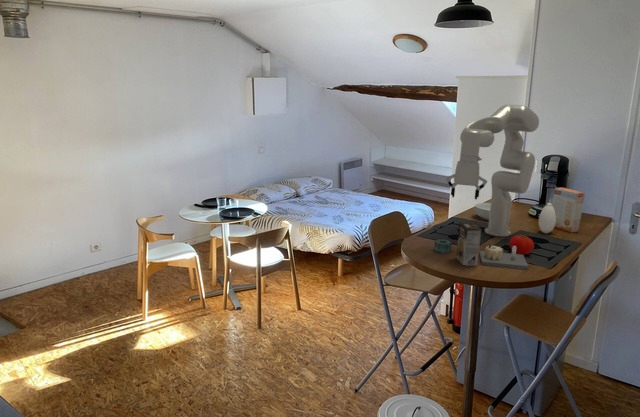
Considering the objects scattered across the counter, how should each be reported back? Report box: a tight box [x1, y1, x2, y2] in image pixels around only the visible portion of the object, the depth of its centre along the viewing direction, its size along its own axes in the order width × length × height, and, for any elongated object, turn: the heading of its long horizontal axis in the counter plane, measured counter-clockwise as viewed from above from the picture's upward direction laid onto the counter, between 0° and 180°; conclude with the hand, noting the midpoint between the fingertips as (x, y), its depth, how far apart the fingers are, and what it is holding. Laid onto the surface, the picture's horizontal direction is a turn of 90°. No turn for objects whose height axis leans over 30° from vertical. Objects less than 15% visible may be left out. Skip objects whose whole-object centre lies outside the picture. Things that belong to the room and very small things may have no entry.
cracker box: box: [552, 186, 585, 233], centre depth 259 cm, size 14×6×21 cm, turn 22°
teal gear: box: [434, 239, 452, 254], centre depth 224 cm, size 7×7×4 cm
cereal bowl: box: [474, 202, 491, 221], centre depth 277 cm, size 17×17×7 cm
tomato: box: [509, 234, 535, 256], centre depth 222 cm, size 9×10×8 cm
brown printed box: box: [455, 222, 482, 267], centre depth 209 cm, size 9×6×16 cm
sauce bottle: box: [538, 198, 556, 234], centre depth 252 cm, size 8×8×18 cm
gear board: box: [479, 243, 529, 270], centre depth 212 cm, size 14×18×7 cm
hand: (464, 197), depth 219 cm, fingers open, 9 cm apart
